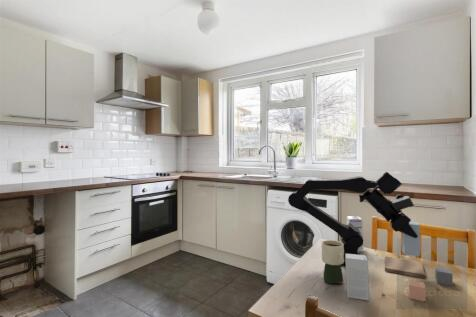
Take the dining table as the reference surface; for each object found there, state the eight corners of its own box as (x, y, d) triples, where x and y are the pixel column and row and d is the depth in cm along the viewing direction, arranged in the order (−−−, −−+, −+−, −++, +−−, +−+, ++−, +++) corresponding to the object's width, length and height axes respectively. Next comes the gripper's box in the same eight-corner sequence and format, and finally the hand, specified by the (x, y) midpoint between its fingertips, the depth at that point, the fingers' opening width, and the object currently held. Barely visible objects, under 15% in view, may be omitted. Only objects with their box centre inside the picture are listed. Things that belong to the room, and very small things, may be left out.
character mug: (353, 287, 82) (352, 247, 82) (333, 290, 81) (333, 249, 80) (332, 273, 93) (332, 237, 93) (315, 275, 91) (314, 239, 91)
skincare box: (367, 293, 78) (366, 255, 78) (369, 301, 74) (368, 260, 74) (345, 290, 80) (345, 253, 80) (346, 297, 76) (346, 258, 76)
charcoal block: (437, 283, 84) (436, 271, 84) (435, 278, 88) (434, 266, 88) (452, 286, 82) (452, 273, 82) (450, 280, 86) (449, 269, 86)
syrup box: (363, 251, 113) (363, 219, 113) (349, 251, 114) (349, 218, 114) (360, 247, 118) (359, 216, 118) (346, 246, 119) (346, 215, 119)
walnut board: (384, 270, 94) (384, 267, 94) (385, 259, 104) (385, 256, 104) (425, 278, 88) (425, 274, 88) (421, 265, 98) (421, 262, 98)
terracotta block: (409, 298, 76) (408, 284, 76) (408, 292, 79) (408, 279, 79) (425, 302, 74) (425, 288, 74) (424, 295, 77) (423, 282, 77)
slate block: (404, 254, 91) (404, 223, 91) (402, 250, 95) (401, 220, 95) (419, 256, 89) (419, 225, 89) (416, 251, 93) (416, 221, 93)
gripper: (403, 191, 85) (444, 228, 81) (392, 185, 102) (425, 215, 98) (376, 213, 88) (414, 249, 84) (370, 204, 105) (402, 233, 101)
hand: (414, 235), depth 92 cm, fingers closed on slate block, 4 cm apart
